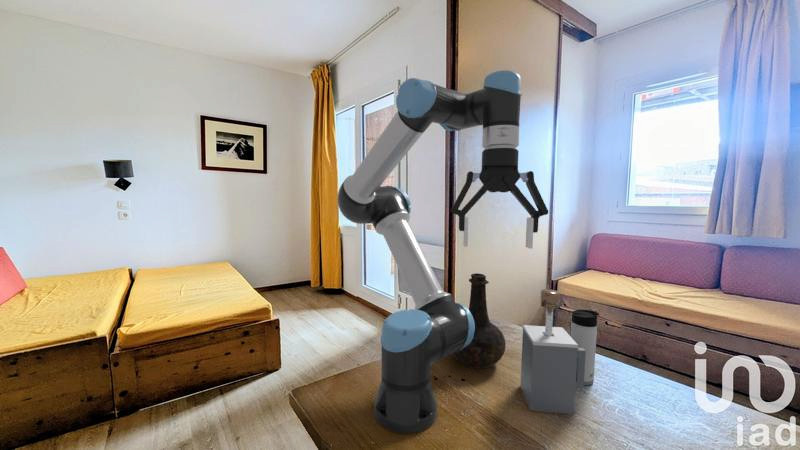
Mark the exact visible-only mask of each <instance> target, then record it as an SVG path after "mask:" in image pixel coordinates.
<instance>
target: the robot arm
mask: <svg viewBox="0 0 800 450" xmlns="http://www.w3.org/2000/svg"><path fill="white" fill-rule="evenodd" d="M521 79H522V78H521V76H520V74H519V73H517V72H515V71H513V70H509V69H508V70H507V69H506V70H496V71H494V72H491V73H489V74H488V75H486V76H485V77H484V81H483V85H482V86H483V88H481V89H478V90H476V91H473V92H469V93H462V92H460V91H457V90H454V89H451V88H448V87H444V86H442V85H439V84H435V83H433V82H431V81H429V80H425V79H421V78H420V79H419V78H415V77H410V78H408V79H406V80H405V81H403V82H402V83H401V84H400V87H398V94H397V95H396V98H395V103H396V104H395V105H396V109H397V112H396V113H395V114H394V115H393V117H392V118H391V120H390V121H389V123H387V125H386V127H385V128H384V130H383V131H382V133H381V134H380V136H379V137H378V138H377V139H376V141H375V143H373V146H371V148H370V150H369V151H368V152H367V154H366V156H365V157H364V159H363V160H362V162H361V163H360V164H359V165H358V167H357V168H356V169H355V171H354V173H353V174H352V175H348V176H346V177H345V179H344V180H343V182H342V183H341V185H340V187H339V190H338V192H337V204H338V207H339V211H340V213H341V214H342V215H343V216H344V217H345V219H347V220H348V221H350V222H352V223H354V224H357V225H359V224H360V225H365V224H372V226H373V227H374V229H375V232H376V233H377V234H378V235H380V236H381V235H382V236H383V238H384V239H385V242H386V244H387V247H388V249H389V251H390V253H391V254H392V256H393V260H394V261H395V264H396V265H397V268H398V269H399V272H400V274H401V277H402V279H403V281H404V283H405V285H406V287H407V289H408V292H409V294H410V296H411V298H412V300H413V302H414V304H415V305H414V306H415V307H414V308H413V309H411V308H410V309H408V310H407V309H402V310H398V311H396V312H393V313H391V314H389V316H387V317H385V318H386V319H384V321H383V323H382V327H381V335H380V343H381V381H380V383H379V387H378V389H377V392H376V395H375V399H374V403H373V415H374V418H375V420H376V422H377V423H378V424H379V425H380V426H382V427H383V428H385V429H386V430H388V431H390V432H393V433H397V434H404V435H405V434H409V435H410V434H417V433H419V432H423V431H425V430H427V429H428V428H430V427H431V426H432V425H433V424H434V423H435V421H436V419H437V416H438V404H437V399H436V396H435V392H434V389H433V386H432V383H431V382H432V381H431V364H433V363H435V362H438V361H439V360H442V359H444V358H447V357H449V356H450V355H453V353H455V352H458V351H460V350H462V349H463V348H464V347H466V346H467V345H469V344H470V342H471V341H472V339H473V337H474V332H475V324H474V319H473V316H472V314H471V312H470V311H469V307H466V305H463V304H462V303H460V302H456V301H455V298H454V297H453V294H451V293H449V292H446V291H444V290H443V288H442V286H441V284H440V282H439V280H438V279H437V276H436V274H435V272H434V271H433V268H432V267H431V265H430V263H429V261H428V259H427V257H426V255H425V252H424V251H423V249H422V247H421V245H420V243H419V241H418V240H417V239H418V238H417V237H416V236H415V234H414V232H413V229H412V228H411V226H410V224H409V223H410V218H411V216H410V214H411V210H412V209H411V208H412V207H411V206H410V205H411V200H410V197H409V196H408V194H407V192H406V191H405V190H404V189H402V188H400V187H396V186H392V185H384V186H381V185H382V184H383V183H384V182H385V180H386V179H387V178H388V177H389V175H390V174H392V172H393V171H394V170H395V168H396V167H397V165H399V164H400V162H401V161H402V160H403V159H404V157H405V156H406V155H407V154H408V152H409V151H410V150H411V149H412V148H413V146H414V145H415V144H416V143H417V142H418V140H419V139H420V138H421V136H422V135H423V134H424V133H425V132H426V130H427V129H428V128H429V127H430V126H431V125H432V123H433V124H439V125H440V127H441V128H443V129H444V130H445V131H447V132H453V131H456V132H457V131H461V130H466V129H470V128H474V127H478V126H482V138H481V139H482V140H481V141H482V142H481V143H482V145H481V147H482V148H483V149H484V150H482V152H481V170H480V172H473V171H472V170H471V171H468V172H467V173H466V178H465V179H466V180H465V183H464V184H463V187H462V188H461V190H460V192H459V194H458V196H457V198H456V200H455V202H454V204H453V205H452V207H451V209H450V212H451V213H452V214H453V215H456V216H458V230H459V231H460V232H463V243H462V245H463V247H464V248H466V247H467V248H468V241H469V237H468V236H469V216H468V215H467V213H469V211H470V210H471V209H472V208H473V207H474V205H476V204H477V202H478V201H480V199H481V198H482V197H483V195H485V194H486V193H487V192H490V193H508V192H510V193H511V195H513V197H514V198H515V199H516V200H517V202H518V203H520V206H522V207H523V208H524V209H525V211H526V212H527V213H528V214H529V215H530V217H529V216H528V217H526V227H525V229H526V231H525V247H526V248H528V249H533V245H534V244H533V243H534V242H533V241H534V234H535V233H536V234H537V233H538V231H539V219H540V217H543V216H546V215H548V214H549V209H548V208H547V206H546V205H547V204H546V203H545V201H544V199H543V197H542V195H541V192H540V190H539V189H538V186H537V184H536V182H535V175H534V174H535V173H534V171H531V170H530V171H527V172H519V152H520V151H519V150H518V149H517V148H518V147H519V144H520V115H521V98H522V88H521V87H522V86H521V85H522V84H521V83H522V82H521ZM477 179H479V181H480V182H481V183H482V186H481V187H480V188H479V189H478V190H477V192H476V193H475V194H474V195H473V196H472V198H471V199H470V200H468V202H466V204H465V205H464V206H463V207H462V208H461V209H460V207H461V205H462V203H463V201H464V199H465V197H466V195H467V193H468V191H469V190H470V188H471V185H472V183H474V182H476V181H477ZM520 179H521V181H522V182H523V183H525V185H526V188H527V190H528V192H529V194H530V196H531V198H532V200H533V202H534V205H535V206H536V208H535V207H534V206H533V204H532V203H531V202H530V201H529V200H528V198H527V197H526V196H525V195H524V194H523V193H522V191H521V189H520V188H519V186H517V185H516V184H517V182H518V181H519V180H520ZM466 215H467V216H466Z"/></svg>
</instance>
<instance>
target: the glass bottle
mask: <svg viewBox="0 0 800 450" xmlns="http://www.w3.org/2000/svg"><path fill="white" fill-rule="evenodd" d="M470 276H471V277H470V278H468V282H469V283H471V284H470V296H469V297H470V298H469V307H468V310H469V311H470V312H471V314H472V316H473V319H474V324H475V332H474V337H473V339H472V341H471V342H470V344H469V345H467V346H466V347H464V348H463V349H462V350H460V351H458V352H455V353H453V354H452V355H453V356H454V358H455V359H456V360H457V361H458V362H460V363H461V364H462V365H464V366H466V367H470V368H473V369H487V368H490V367H492V366H494V365H496V364H498V362H499V361H500V360H501V359H502V358H503V356H504V354H505V351H506V346H507V345H506V339H505V336H504V334H503V332H502V331H501V329H500V328H499V327H498V326H496V325H495V324H494V323H492V322H491V320H490V319H489V313H488V304H487V290H486V289H487V288H486V287H487V286H486V285H487V284H489V283H490V282H489V281H488V280H487V276H486V275H485V274H483V273H479V272H478V273H475V272H474V273H472V274H470Z"/></svg>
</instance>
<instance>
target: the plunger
mask: <svg viewBox="0 0 800 450" xmlns="http://www.w3.org/2000/svg"><path fill="white" fill-rule="evenodd" d="M540 306H541V307H543V308H545V325H544V326H545V336H552V327H554V326H553V323H554V310H555V309H556V310H557V309H560V308H561V292H560V291H558V290H555V289H546V288H545V289H541V290H540Z"/></svg>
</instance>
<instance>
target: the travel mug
mask: <svg viewBox="0 0 800 450" xmlns="http://www.w3.org/2000/svg"><path fill="white" fill-rule="evenodd" d="M598 317H600V313H599V312H598V311H596V310H589V309H575V310H573V311H572V312H571V320H570V321H571V322H570V336H571V338H572V339H573V340H574V341H575V342H576V343H577V344H578V348H584V350H585V351H586V355H585V371H584V386H590V385H593V384H594V380H595V379H594V378H595V362H596V347H597V336H598V335H597V333H598V332H597V331H598V330H597V329H598Z"/></svg>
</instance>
